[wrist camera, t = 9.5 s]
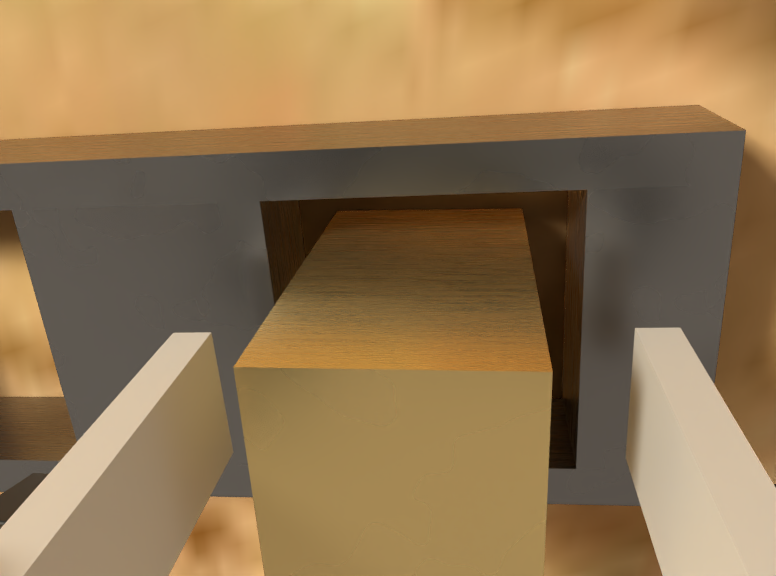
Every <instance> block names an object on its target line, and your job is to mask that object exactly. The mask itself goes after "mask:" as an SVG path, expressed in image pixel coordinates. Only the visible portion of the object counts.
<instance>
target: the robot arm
mask: <svg viewBox="0 0 776 576" xmlns="http://www.w3.org/2000/svg"><path fill="white" fill-rule="evenodd" d="M232 454H233V448H232V442H231V437H230V431H229V426H228V421H227V415H226V410H225V404H224V399H223V393H222V388H221V382H220V377H219V371H218V366H217V360H216V355H215V349H214V344H213V338H212V333H211V332H195V333H173V334H172V335H171V336H170V337H169V338H168V339H167V340H166V342H165V343H164V344H163V345H162V346H161V347H160V348H159V350H158V351H157V352H156V353H155V354H154V355H153V356H152V357H151V359H150V360H149V361H148V362H147V363H146V364H145V365H144V367H143V368H142V369H141V370H140V371H139V372H138V373H137V374H136V376H135V377H134V378H133V379H132V380H131V381H130V382H129V384H128V385H127V386H126V387H125V388H124V389H123V390H122V391H121V393H120V394H119V395H118V396H117V397H116V398H115V399H114V401H113V402H112V403H111V404H110V405H109V406H108V407H107V408H106V410H105V411H104V412H103V413H102V414H101V415H100V416H99V418H98V419H97V420H96V421H95V422H94V423H93V424H92V425H91V427H90V428H89V429H88V430H87V431H86V432H85V433H84V435H83V436H82V437H81V438H80V439H79V440H78V441H77V442H76V444H75V445H74V446H73V447H72V448H71V449H70V450H69V452H68V453H67V454H66V455H65V456H64V457H63V458H62V459H61V461H60V462H59V463H58V464H57V465H56V466H55V467H54V469H53V470H52V471H51V472H50V473H33V474H31V475H29V476H28V477H26V478H25V479H23V480H22V481H20V482H19V483H17V484H16V485H14V486H13V487H11V488H10V489H8V490H7V491H5V492H4V493H2V494H1V495H0V576H168V575H169V574H170V572H171V570H172V568H173V566H174V564H175V562H176V560H177V558H178V556H179V555H180V553H181V551H182V549H183V547H184V545H185V543H186V541H187V539H188V537H189V536H190V534H191V532H192V530H193V528H194V526H195V524H196V522H197V520H198V518H199V517H200V515H201V513H202V511H203V509H204V507H205V505H206V503H207V501H208V499H209V498H210V496H211V494H212V492H213V490H214V488H215V486H216V484H217V482H218V480H219V479H220V477H221V475H222V473H223V471H224V469H225V467H226V465H227V463H228V461H229V460H230V458H231V456H232ZM626 461H627V464H628V467H629V470H630V473H631V476H632V480H633V483H634V486H635V489H636V492H637V496H638V499H639V502H640V505H641V508H642V511H643V515H644V518H645V521H646V524H647V527H648V531H649V534H650V537H651V540H652V543H653V546H654V550H655V553H656V556H657V559H658V562H659V566H660V569H661V572H662V575H663V576H776V484H773V482H772V481H771V479H770V477H769V476H768V474H767V472H766V471H765V469H764V467H763V466H762V464H761V462H760V461H759V459H758V457H757V455H756V454H755V452H754V450H753V449H752V447H751V445H750V444H749V442H748V440H747V439H746V437H745V435H744V434H743V432H742V430H741V429H740V427H739V425H738V424H737V422H736V420H735V419H734V417H733V415H732V414H731V412H730V410H729V408H728V407H727V405H726V403H725V402H724V400H723V398H722V397H721V395H720V393H719V392H718V390H717V388H716V387H715V385H714V383H713V382H712V380H711V378H710V377H709V375H708V373H707V372H706V370H705V368H704V366H703V365H702V363H701V361H700V360H699V358H698V356H697V355H696V353H695V351H694V350H693V348H692V346H691V345H690V343H689V341H688V340H687V338H686V336H685V335H684V333H683V331H682V330H681V328H635V334H634V348H633V362H632V375H631V389H630V403H629V417H628V431H627V445H626Z"/></svg>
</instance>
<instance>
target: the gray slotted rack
mask: <svg viewBox="0 0 776 576" xmlns="http://www.w3.org/2000/svg"><path fill="white" fill-rule="evenodd" d="M745 134H746V130H745V129H743V128H741V127H739V126H737V125H735V124H733V123H732V122H730V121H728V120H726V119H724V118H722V117H720V116H718V115H716V114H715V113H713V112H711V111H709V110H707V109H705V108H703V107H701V106H700V105H689V106H669V107H649V108H629V109H609V110H589V111H569V112H550V113H530V114H510V115H490V116H470V117H450V118H430V119H410V120H390V121H370V122H350V123H330V124H311V125H291V126H271V127H251V128H231V129H211V130H191V131H171V132H151V133H131V134H111V135H92V136H72V137H52V138H32V139H12V140H0V211H2V210H12V214H13V217H14V221H15V224H16V228H17V231H18V235H19V239H20V242H21V246H22V249H23V253H24V256H25V260H26V263H27V267H28V270H29V274H30V277H31V281H32V285H33V288H34V292H35V295H36V299H37V302H38V306H39V309H40V313H41V316H42V320H43V324H44V327H45V331H46V334H47V338H48V341H49V345H50V348H51V352H52V355H53V359H54V362H55V366H56V370H57V373H58V377H59V380H60V384H61V387H62V391H63V394H64V397H0V492H5V491H7V490H8V489H10V488H11V487H13V486H14V485H16V484H17V483H19V482H20V481H22V480H23V479H25V478H26V477H28V476H29V475H31V474H33V473H50V472H51V471H52V470H53V469H54V467H55V466H56V465H57V464H58V463H59V462H60V461H61V459H62V458H63V457H64V456H65V455H66V454H67V453H68V452H69V450H70V449H71V448H72V447H73V446H74V445H75V444H76V442H77V441H78V440H79V439H80V438H81V437H82V436H83V435H84V433H85V432H86V431H87V430H88V429H89V428H90V427H91V425H92V424H93V423H94V422H95V421H96V420H97V419H98V418H99V416H100V415H101V414H102V413H103V412H104V411H105V410H106V408H107V407H108V406H109V405H110V404H111V403H112V402H113V401H114V399H115V398H116V397H117V396H118V395H119V394H120V393H121V391H122V390H123V389H124V388H125V387H126V386H127V385H128V384H129V382H130V381H131V380H132V379H133V378H134V377H135V376H136V374H137V373H138V372H139V371H140V370H141V369H142V368H143V367H144V365H145V364H146V363H147V362H148V361H149V360H150V359H151V357H152V356H153V355H154V354H155V353H156V352H157V351H158V350H159V348H160V347H161V346H162V345H163V344H164V343H165V342H166V340H167V339H168V338H169V337H170V336H171V335H172V334H173V333H195V332H211V333H212V338H213V344H214V349H215V355H216V360H217V366H218V371H219V377H220V382H221V388H222V393H223V399H224V404H225V410H226V415H227V421H228V426H229V431H230V437H231V442H232V448H233V454H232V456H231V458H230V460H229V461H228V463H227V465H226V467H225V469H224V471H223V473H222V475H221V477H220V479H219V480H218V482H217V484H216V486H215V488H214V490H213V492H212V494H211V496H218V497H253V495H252V488H251V481H250V475H249V468H248V461H247V455H246V448H245V442H244V435H243V428H242V422H241V415H240V408H239V402H238V395H237V388H236V382H235V375H234V368H233V367H234V365H235V364H236V362H237V361H238V359H239V358H240V356H241V355H242V353H243V352H244V350H245V349H246V347H247V346H248V344H249V343H250V341H251V340H252V338H253V337H254V335H255V334H256V332H257V331H258V329H259V328H260V326H261V325H262V323H263V322H264V320H265V319H266V317H267V316H268V314H269V313H270V311H271V310H272V308H273V307H274V305H275V304H276V302H277V301H278V299H279V298H280V296H281V295H282V293H283V292H284V290H285V289H286V287H287V286H288V284H289V283H290V281H291V280H292V278H293V277H294V275H295V274H296V272H297V271H298V269H299V268H300V266H301V265H302V263H303V262H304V260H305V250H304V242H303V234H302V225H301V217H300V209H299V201H298V200H310V199H338V198H366V197H394V196H422V195H450V194H478V193H506V192H534V191H562V190H568V208H567V241H566V275H565V309H564V342H563V376H562V399H551V423H550V446H549V469H548V493H547V504H578V505H624V506H641V505H640V502H639V499H638V496H637V492H636V489H635V486H634V483H633V480H632V476H631V473H630V470H629V467H628V464H627V461H626V445H627V431H628V417H629V403H630V389H631V375H632V362H633V348H634V334H635V328H681V330H682V331H683V333H684V335H685V336H686V338H687V340H688V341H689V343H690V345H691V346H692V348H693V350H694V351H695V353H696V355H697V356H698V358H699V360H700V361H701V363H702V365H703V366H704V368H705V370H706V372H707V373H708V375H709V377H710V378H711V380H712V382H713V383H715V375H716V367H717V359H718V351H719V343H720V335H721V327H722V319H723V311H724V303H725V295H726V286H727V278H728V270H729V262H730V254H731V246H732V238H733V230H734V222H735V214H736V206H737V198H738V190H739V182H740V174H741V166H742V158H743V150H744V142H745Z"/></svg>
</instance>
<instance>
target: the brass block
mask: <svg viewBox="0 0 776 576" xmlns="http://www.w3.org/2000/svg"><path fill="white" fill-rule="evenodd" d="M233 368H234V375H235V382H236V388H237V395H238V402H239V408H240V415H241V422H242V428H243V435H244V442H245V448H246V455H247V461H248V468H249V475H250V481H251V488H252V495H253V501H254V508H255V515H256V521H257V528H258V535H259V541H260V548H261V554H262V561H263V568H264V574H265V576H544V563H545V539H546V516H547V493H548V469H549V446H550V423H551V399H552V376H553V371H552V366H551V360H550V355H549V350H548V344H547V339H546V334H545V328H544V323H543V317H542V312H541V307H540V301H539V296H538V291H537V285H536V280H535V275H534V269H533V264H532V259H531V253H530V248H529V242H528V237H527V232H526V226H525V221H524V216H523V210H522V208H504V209H435V210H367V211H337V212H336V214H335V215H334V217H333V218H332V220H331V221H330V223H329V224H328V226H327V227H326V229H325V230H324V232H323V233H322V235H321V236H320V238H319V239H318V241H317V242H316V244H315V245H314V247H313V248H312V250H311V251H310V253H309V254H308V256H307V257H306V259H305V260H304V262H303V263H302V265H301V266H300V268H299V269H298V271H297V272H296V274H295V275H294V277H293V278H292V280H291V281H290V283H289V284H288V286H287V287H286V289H285V290H284V292H283V293H282V295H281V296H280V298H279V299H278V301H277V302H276V304H275V305H274V307H273V308H272V310H271V311H270V313H269V314H268V316H267V317H266V319H265V320H264V322H263V323H262V325H261V326H260V328H259V329H258V331H257V332H256V334H255V335H254V337H253V338H252V340H251V341H250V343H249V344H248V346H247V347H246V349H245V350H244V352H243V353H242V355H241V356H240V358H239V359H238V361H237V362H236V364H235V365H234V367H233Z"/></svg>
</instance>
